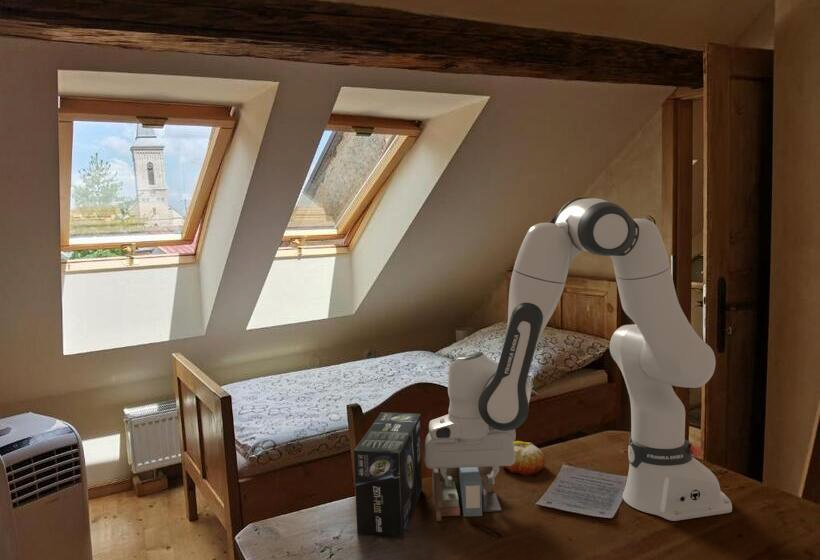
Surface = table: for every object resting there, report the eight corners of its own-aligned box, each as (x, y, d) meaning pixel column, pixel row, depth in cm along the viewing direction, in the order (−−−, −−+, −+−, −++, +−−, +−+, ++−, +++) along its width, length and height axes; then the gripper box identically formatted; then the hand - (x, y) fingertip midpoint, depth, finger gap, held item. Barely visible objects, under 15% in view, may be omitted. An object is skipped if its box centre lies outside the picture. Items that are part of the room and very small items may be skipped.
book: (476, 495, 150) (475, 462, 149) (482, 516, 140) (481, 481, 139) (459, 495, 150) (458, 462, 149) (463, 517, 140) (463, 481, 139)
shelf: (491, 489, 153) (491, 456, 152) (501, 518, 139) (501, 482, 138) (432, 491, 153) (431, 459, 152) (436, 520, 139) (435, 485, 138)
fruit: (501, 476, 159) (499, 442, 160) (500, 471, 169) (499, 439, 171) (547, 476, 158) (545, 442, 159) (544, 471, 168) (543, 439, 169)
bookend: (495, 494, 150) (495, 478, 150) (501, 511, 142) (501, 493, 142) (478, 495, 150) (478, 478, 150) (483, 511, 142) (483, 494, 142)
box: (403, 540, 131) (400, 450, 129) (356, 536, 133) (352, 448, 131) (423, 489, 154) (421, 412, 151) (382, 487, 156) (380, 410, 153)
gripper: (512, 418, 147) (513, 476, 148) (422, 421, 146) (424, 480, 148) (518, 428, 140) (518, 488, 142) (423, 431, 140) (425, 492, 142)
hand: (469, 484), depth 145 cm, fingers open, 8 cm apart
